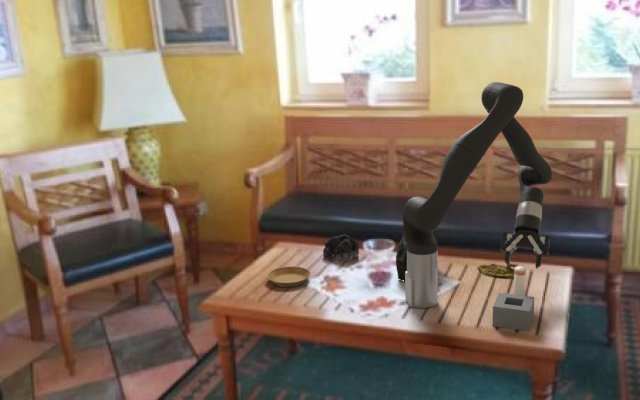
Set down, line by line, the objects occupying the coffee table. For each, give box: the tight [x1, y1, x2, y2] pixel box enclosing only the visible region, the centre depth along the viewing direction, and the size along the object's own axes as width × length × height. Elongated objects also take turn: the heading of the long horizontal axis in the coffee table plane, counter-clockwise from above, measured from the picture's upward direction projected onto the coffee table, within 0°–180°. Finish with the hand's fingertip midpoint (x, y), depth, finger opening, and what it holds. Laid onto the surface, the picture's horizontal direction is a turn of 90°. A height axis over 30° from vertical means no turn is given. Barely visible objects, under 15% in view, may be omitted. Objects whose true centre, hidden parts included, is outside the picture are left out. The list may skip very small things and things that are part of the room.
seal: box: [477, 262, 519, 279], centre depth 225 cm, size 9×5×15 cm
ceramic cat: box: [395, 227, 439, 281], centre depth 226 cm, size 20×6×20 cm, turn 136°
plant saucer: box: [267, 266, 311, 288], centre depth 227 cm, size 15×15×3 cm
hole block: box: [491, 292, 535, 332], centre depth 190 cm, size 10×10×6 cm
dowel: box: [513, 265, 527, 296], centre depth 199 cm, size 3×3×12 cm
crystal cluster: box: [322, 233, 360, 263], centre depth 246 cm, size 13×14×10 cm
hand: (522, 265), depth 202 cm, fingers open, 8 cm apart
